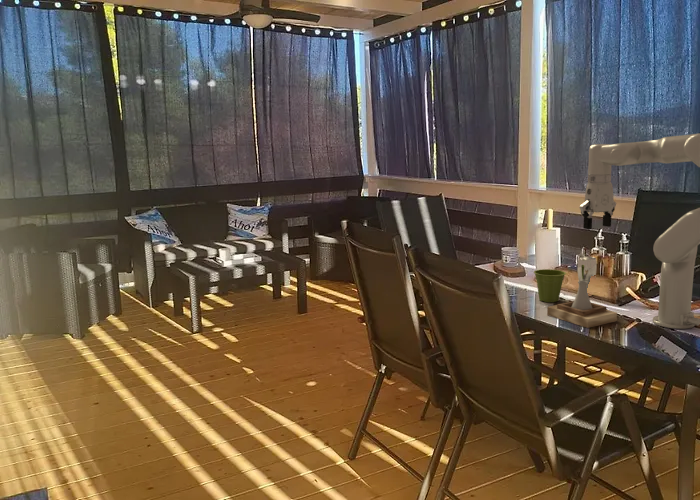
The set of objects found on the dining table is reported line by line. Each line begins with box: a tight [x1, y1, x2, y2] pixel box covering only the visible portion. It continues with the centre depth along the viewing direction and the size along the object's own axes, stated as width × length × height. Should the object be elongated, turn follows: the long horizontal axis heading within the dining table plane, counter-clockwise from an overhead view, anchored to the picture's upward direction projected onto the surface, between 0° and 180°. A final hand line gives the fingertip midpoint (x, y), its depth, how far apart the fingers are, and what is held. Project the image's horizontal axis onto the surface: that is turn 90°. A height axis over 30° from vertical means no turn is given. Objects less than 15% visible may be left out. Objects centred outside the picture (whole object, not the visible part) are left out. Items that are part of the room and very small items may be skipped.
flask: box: [572, 280, 592, 310], centre depth 213 cm, size 7×7×10 cm
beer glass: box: [577, 256, 597, 288], centre depth 243 cm, size 7×7×15 cm
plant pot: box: [533, 268, 567, 303], centre depth 237 cm, size 12×12×11 cm
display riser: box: [546, 300, 618, 329], centre depth 214 cm, size 18×14×4 cm
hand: (597, 227), depth 219 cm, fingers open, 9 cm apart
